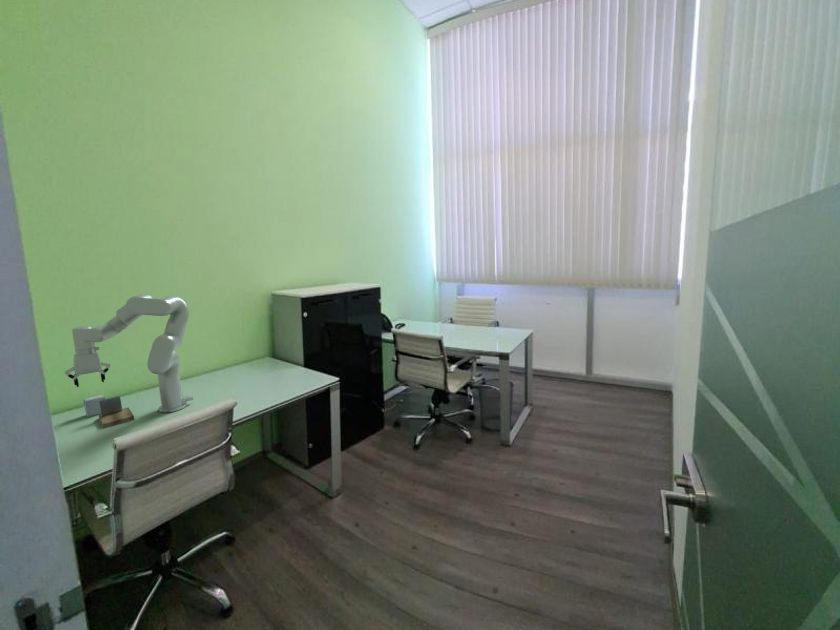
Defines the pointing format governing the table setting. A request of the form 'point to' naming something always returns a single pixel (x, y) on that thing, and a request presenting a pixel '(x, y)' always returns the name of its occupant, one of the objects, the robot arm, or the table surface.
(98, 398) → the medicine box
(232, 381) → the table surface
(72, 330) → the robot arm
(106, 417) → the wooden display stand
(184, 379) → the table surface
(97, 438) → the table surface
